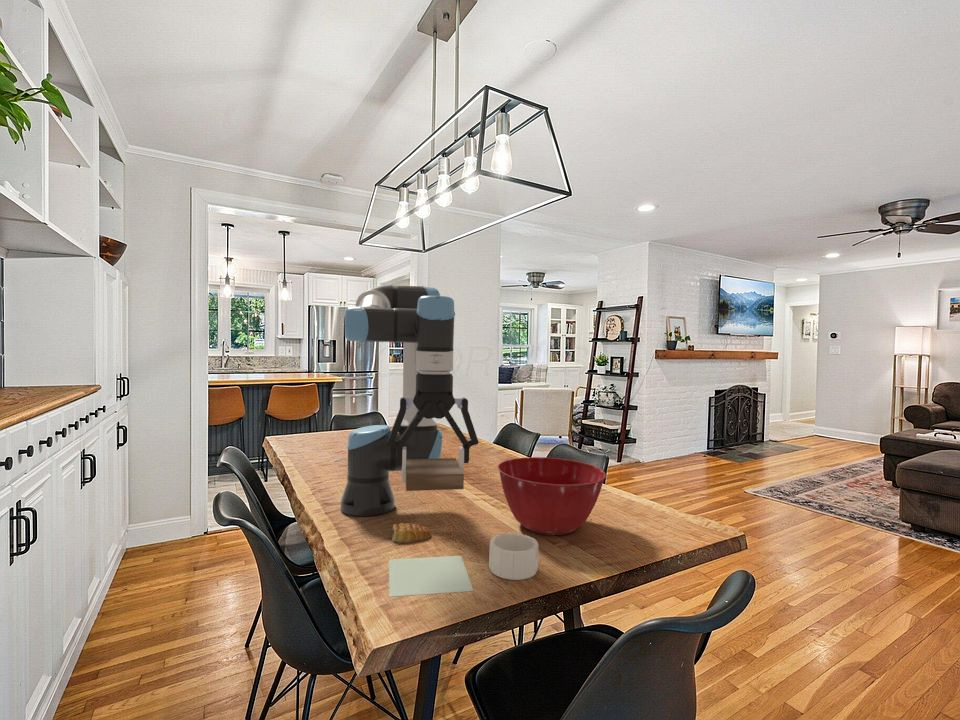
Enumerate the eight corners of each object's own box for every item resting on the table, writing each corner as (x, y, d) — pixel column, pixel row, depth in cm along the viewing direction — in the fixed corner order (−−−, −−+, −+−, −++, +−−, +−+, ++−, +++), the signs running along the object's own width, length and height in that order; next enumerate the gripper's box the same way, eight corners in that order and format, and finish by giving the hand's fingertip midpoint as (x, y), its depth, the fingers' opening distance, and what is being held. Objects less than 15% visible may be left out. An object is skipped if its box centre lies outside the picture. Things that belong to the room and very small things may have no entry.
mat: (389, 561, 109) (389, 559, 109) (461, 556, 112) (461, 555, 112) (389, 598, 93) (389, 596, 93) (473, 592, 96) (473, 590, 96)
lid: (404, 472, 107) (404, 459, 107) (455, 471, 109) (455, 458, 109) (406, 490, 94) (406, 475, 94) (463, 489, 96) (463, 473, 96)
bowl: (485, 561, 110) (486, 534, 109) (529, 558, 111) (530, 532, 111) (495, 583, 100) (495, 553, 100) (543, 580, 102) (543, 551, 101)
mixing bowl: (580, 506, 149) (581, 455, 148) (623, 545, 120) (625, 482, 120) (487, 509, 144) (488, 456, 143) (509, 550, 116) (511, 485, 115)
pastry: (427, 532, 126) (428, 517, 126) (432, 543, 120) (432, 527, 119) (390, 535, 124) (390, 520, 124) (392, 546, 117) (393, 530, 117)
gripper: (375, 373, 95) (373, 486, 96) (494, 374, 99) (492, 483, 100) (376, 370, 103) (374, 475, 103) (487, 372, 107) (485, 473, 107)
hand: (432, 479), depth 102 cm, fingers closed on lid, 11 cm apart
